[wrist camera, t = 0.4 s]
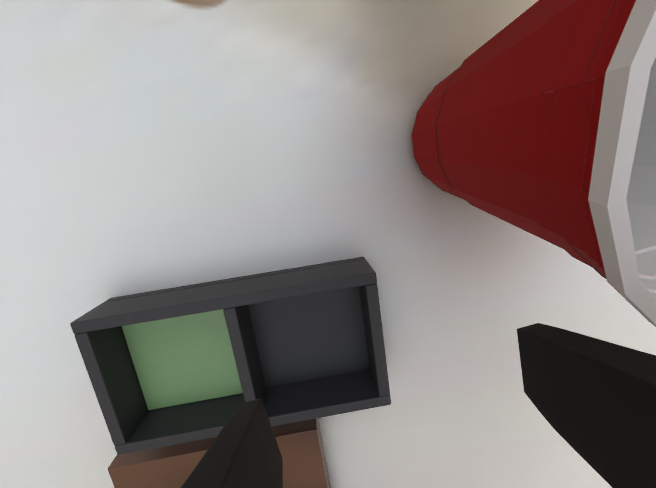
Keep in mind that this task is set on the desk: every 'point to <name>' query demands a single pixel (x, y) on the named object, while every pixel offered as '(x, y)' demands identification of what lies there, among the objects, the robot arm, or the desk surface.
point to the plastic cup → (559, 134)
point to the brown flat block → (181, 459)
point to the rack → (236, 352)
